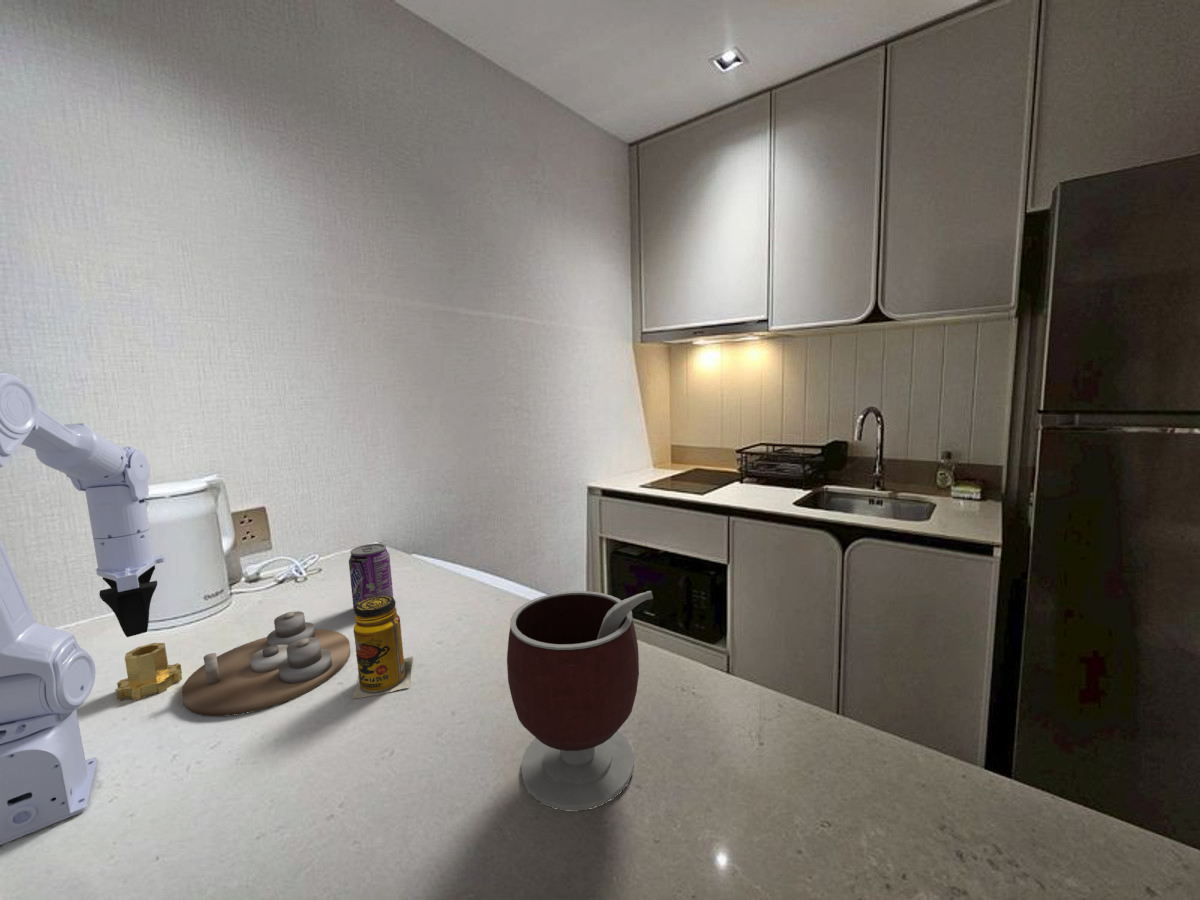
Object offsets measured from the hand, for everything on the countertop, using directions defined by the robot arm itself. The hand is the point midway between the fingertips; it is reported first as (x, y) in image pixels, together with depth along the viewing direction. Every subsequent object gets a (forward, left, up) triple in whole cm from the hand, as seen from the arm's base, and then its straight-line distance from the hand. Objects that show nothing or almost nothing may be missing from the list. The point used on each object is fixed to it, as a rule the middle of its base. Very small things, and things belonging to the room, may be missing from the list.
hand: (136, 625), depth 70 cm
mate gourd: (-55, -38, -10) cm, 68 cm away
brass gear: (0, -1, -9) cm, 9 cm away
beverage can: (+4, -33, -10) cm, 34 cm away
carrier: (-8, -15, -9) cm, 19 cm away
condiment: (-22, -27, -10) cm, 36 cm away
